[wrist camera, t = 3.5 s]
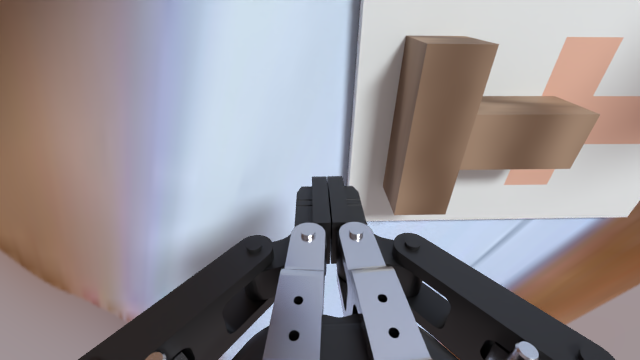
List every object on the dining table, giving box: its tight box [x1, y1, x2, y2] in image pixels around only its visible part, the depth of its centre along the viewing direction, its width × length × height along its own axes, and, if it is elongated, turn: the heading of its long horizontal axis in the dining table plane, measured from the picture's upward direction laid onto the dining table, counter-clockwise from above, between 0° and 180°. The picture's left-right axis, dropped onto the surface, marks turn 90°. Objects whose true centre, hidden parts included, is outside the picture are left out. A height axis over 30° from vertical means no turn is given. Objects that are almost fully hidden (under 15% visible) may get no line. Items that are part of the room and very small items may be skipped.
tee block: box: [383, 36, 600, 215], centre depth 21 cm, size 12×12×4 cm
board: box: [347, 0, 640, 221], centre depth 23 cm, size 28×20×1 cm
